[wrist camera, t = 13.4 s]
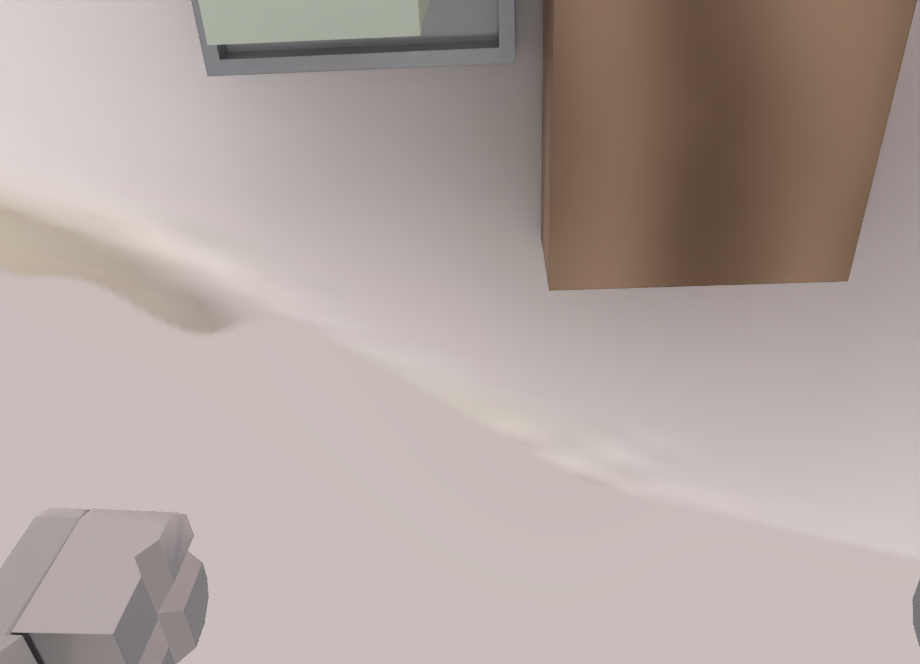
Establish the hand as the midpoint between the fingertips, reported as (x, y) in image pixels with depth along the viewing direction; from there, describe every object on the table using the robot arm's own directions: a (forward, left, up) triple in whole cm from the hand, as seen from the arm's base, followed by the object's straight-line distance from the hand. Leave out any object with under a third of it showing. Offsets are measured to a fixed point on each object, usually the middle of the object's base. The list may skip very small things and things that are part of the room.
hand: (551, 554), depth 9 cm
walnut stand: (-6, +2, -22) cm, 23 cm away
